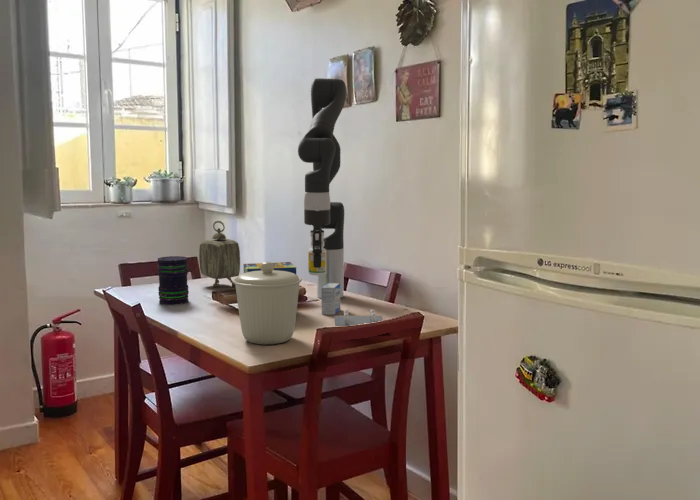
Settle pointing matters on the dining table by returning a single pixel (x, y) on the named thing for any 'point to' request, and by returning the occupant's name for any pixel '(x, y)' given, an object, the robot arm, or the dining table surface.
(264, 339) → the canister
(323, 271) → the supplement bottle
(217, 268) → the tabletop clock
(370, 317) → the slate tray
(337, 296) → the medicine box
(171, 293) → the storage jar
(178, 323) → the dining table surface
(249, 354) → the dining table surface
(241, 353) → the dining table surface
